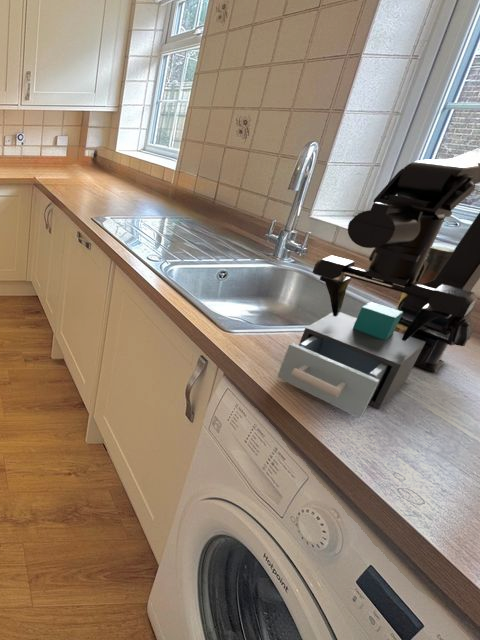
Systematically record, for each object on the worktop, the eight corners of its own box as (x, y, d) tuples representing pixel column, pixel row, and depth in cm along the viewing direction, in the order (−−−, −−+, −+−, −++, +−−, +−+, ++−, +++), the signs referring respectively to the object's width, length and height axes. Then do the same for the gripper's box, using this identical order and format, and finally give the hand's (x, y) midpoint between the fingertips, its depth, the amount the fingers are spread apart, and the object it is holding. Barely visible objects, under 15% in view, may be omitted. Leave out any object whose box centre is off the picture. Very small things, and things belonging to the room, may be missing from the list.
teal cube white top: (361, 322, 76) (370, 301, 74) (393, 333, 72) (403, 311, 71) (352, 328, 73) (361, 306, 72) (385, 340, 70) (395, 317, 68)
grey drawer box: (378, 409, 66) (400, 364, 63) (290, 367, 76) (305, 327, 73) (404, 382, 73) (425, 341, 70) (320, 347, 83) (335, 310, 80)
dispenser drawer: (349, 428, 61) (367, 391, 58) (265, 384, 70) (277, 351, 67) (386, 392, 69) (403, 358, 67) (307, 357, 78) (319, 326, 76)
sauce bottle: (435, 344, 86) (481, 256, 79) (400, 340, 87) (443, 253, 80) (410, 328, 92) (451, 245, 85) (378, 325, 93) (416, 242, 86)
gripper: (505, 253, 62) (458, 341, 68) (350, 222, 77) (322, 296, 83) (490, 266, 57) (440, 360, 62) (326, 229, 71) (297, 308, 77)
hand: (367, 327), depth 71 cm, fingers open, 9 cm apart
